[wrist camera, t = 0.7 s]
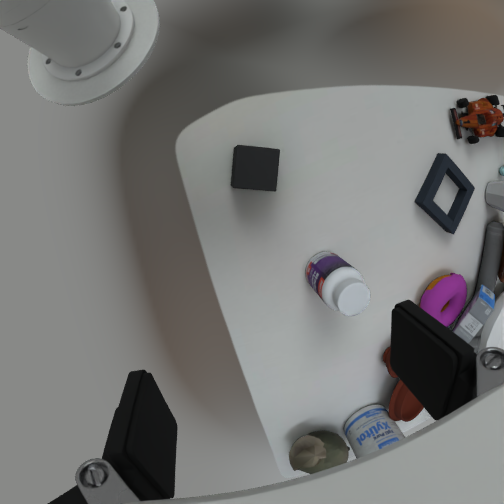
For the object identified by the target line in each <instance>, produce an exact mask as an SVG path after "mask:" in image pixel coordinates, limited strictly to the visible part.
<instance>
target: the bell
mask: <svg viewBox="0 0 504 504" xmlns="http://www.w3.org/2000/svg"><path fill="white" fill-rule="evenodd" d="M498 277H499V280H500V281H501V282H503V283H504V244H503V250H502V256H501V261H500V267H499V271H498Z"/></svg>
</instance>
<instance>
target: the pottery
mask: <svg viewBox="0 0 504 504" xmlns="http://www.w3.org/2000/svg"><path fill="white" fill-rule="evenodd" d="M390 350H391V347H389V348H387V349H386V351H385V352H384V355H383V362H384V363H386V367H387V369H388V372H389V374H390V375H391V376H392V377H394V378H397V377H398V376H397V375H396V374H395V372H394V371H393V370H392V368H391V366H390ZM423 408H424V407H423V405H422V404H421V403H420V402H419V401H418V399H417V398H416V397H415V396H414V395H413V394H412V392H411V391H410V390H409V389H408V388H407V386H406V385H405V384H404V383H403V382H402V381H401V379H400V381H399V382H398V383H397V385H396V386H395V388H394V390H393V393H392V396H391V399H390V403H389V416H390V418H391V419H392V420H394V421H400V420H403V421H405V422H408V421H411V420H412V419H414V418H415V417H416V416H417V415H418V414H419V413H420V412H421V411H422V410H423Z"/></svg>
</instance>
